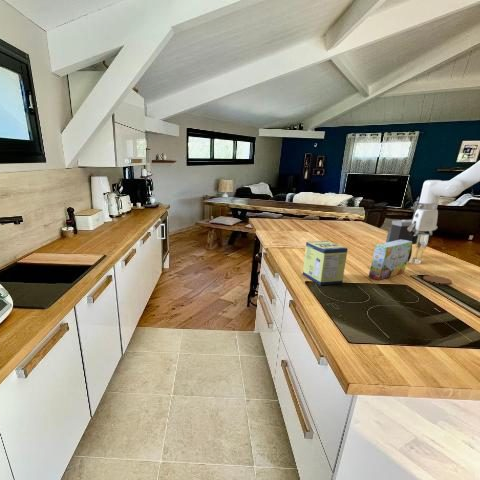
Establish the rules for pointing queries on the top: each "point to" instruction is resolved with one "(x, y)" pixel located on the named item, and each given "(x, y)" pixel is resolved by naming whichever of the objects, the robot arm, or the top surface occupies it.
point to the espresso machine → (399, 231)
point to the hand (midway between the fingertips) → (418, 243)
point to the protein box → (324, 262)
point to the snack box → (390, 259)
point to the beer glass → (418, 248)
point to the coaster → (437, 280)
